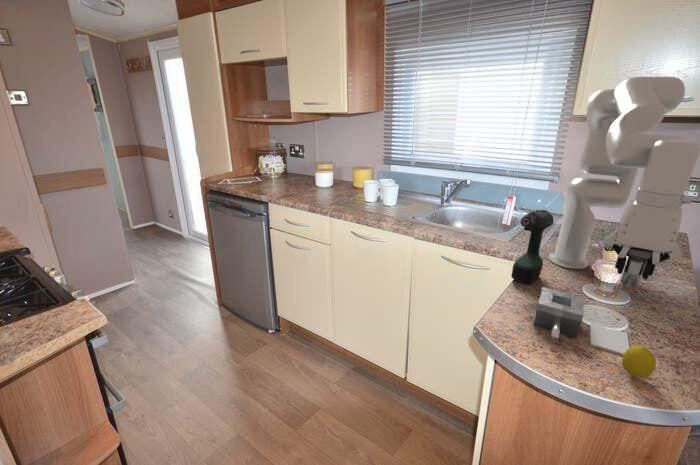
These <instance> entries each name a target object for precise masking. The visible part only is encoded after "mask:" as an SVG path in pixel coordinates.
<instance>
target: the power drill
mask: <svg viewBox="0 0 700 465" xmlns="http://www.w3.org/2000/svg"><path fill="white" fill-rule="evenodd" d="M554 220H555V219H554V217H553V215H552V213H551V212H549V211H548V210H547V209H537V210H532V211H530V212H527V213H525V215H524V216H522V217H521V218H520V225H521V226H522V227H523V230H524V231H527V232H530V234H529V240H528V245H527V251H526V253H524V254H521V256H519V257H518V258H517V259H515V262H514V263H513V265H512V270H511V278H512V279H513V280H514V281H515V280H516V281H517V282H521V283H523V284H526V285H530V286H531V285H533V283H534V282H536V280H537V279H538V278H539V277H540V276H541V272H542V270H543V265H544V262H543V261H544V260H543V259H542V257H541V256H540V250H541V244H542V238H543V234H544V231H545V230H546V229H548V228H550V227H551V226H552V225H554Z"/></svg>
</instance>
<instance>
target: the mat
mask: <svg viewBox="0 0 700 465" xmlns="http://www.w3.org/2000/svg"><path fill="white" fill-rule="evenodd" d="M605 327H606V326H603V327H602V325H600V324H596V323H592V322H591V323H590V324H589V336H590V338H589V344H590V347H591V346H592V347H595V348H597V349H600V350H603V351H604V350H605V351H608V352H610V353H614V354H616V355H620V356H623V355H624V353H625V352H626V351H627V349H629V348H630V347H631V346H630V341H629V337H628V335H629V334H628V333H627V332H624V331H622V330H621V331H620V330H616V329H614V330H612V329H613V328H611V329H607V328H608V327H607V328H605Z"/></svg>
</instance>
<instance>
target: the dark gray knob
mask: <svg viewBox="0 0 700 465" xmlns="http://www.w3.org/2000/svg"><path fill="white" fill-rule="evenodd" d="M652 255H653V251H650V250H645V249H639V248H634V247H631V248H630V249H629V251H628V252H627V254H626V257H628V258H627V260H626V263H625V266H624V269H623V272H622V274H621V275H622V276H621V279H620V283H621V284H623V285H625V286H627V287H634V288H635V287H636V288H637V287H638V285H639V282H640V278H641V276H642V271H643V268H644V266H645V263H646V261H650V260H651V259H652Z"/></svg>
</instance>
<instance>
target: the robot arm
mask: <svg viewBox="0 0 700 465" xmlns="http://www.w3.org/2000/svg"><path fill="white" fill-rule="evenodd" d="M685 93H686V86H685V83H684V82H683V80H681V79H680V78H678V77H676V76H634V77H630V78H627V79H625V80H623V81H622V82H620V84H618V85H617V87H616V88H611V89H609V88H608V89H601V90H598V91H596V92H594V93H593V94H591V96H590V97H589V99H588V102H587V106H586V124H587V131H586V136H585V140H584V143H583V148H582V152H581V156H580V159H579V169H580V171H581V172H582V173H584V174H589V175H595V176H596V175H597V176H598V175H600V176H607V177H608V176H611V177H612V176H613V177H614V179H610V178H608V179H607V178H599V177H598V178H597V177H586V176H585V177H576V178H574V179H573V180H571V181H570V182H569V184H568V186H567V192H566V193H567V194H566V203H565V209H564V214H563V219H562V221H561V226H560V231H559V234H558V238H557V243H556V247H555V250H554V252H550V253H549V255H548V259H549V260H550V262H552V263H553V264H555V265H557V266H560V267H562V268H565V269H566V268H567V269H571V270H584V269H587V268H588V266H589V262H588V260H587V259H586V254H587V251H588V248H589V246H590V245H589V244H590V241H591V237H592V234H593V231H594V227H595V223H596V216H595V214H594V213H593V211H592V210H591V207H594V208H595V207H597V208H604V209H605V208H608V209H620V208H623V207H624V206H625V205H626V204H627V205H626V206H625V209H624V211H623V213H622V215H621V217H620V220H619V222H618V225H617V228H616V229H615V230H614V231H613V232H611V233H610V234H608V235H607V236H605V237H604V243H605V244H607V245H608V246H609V247H611V248H612V250H613V251H614V252H615V253H616V255H618V256H617V259H616V261H615V266H614V269H617V274H619V275H623V272H624V269H625V266H626V263H627V260H628V258H627V256H626V254H627V252H628V251H629V249H630V248H631V247H634V248H639V249H645V250H650V251H653V255H652V259H651V260H650V261H646V262H645V265H644V268H643V271H642V273H641V276H642V279H643V280H648V278H649V277H652V276H653V273H654V271H655V268H656V266H657V265H659V264H660V263H662V262H664V261H667V260H669V259H674V258H677V257H680V256H683V252H682V250H681V247H680V246H679V244H678V242H677V240H678V239H677V238H678V235H679V232H680V228H681V224H682V218H683V217H682V216H683V207H682V206H683V205H686V204H688V205H690V204H691V203H692V199H693V198H692V197H689V196H686V195H685V193H686V190H687V188H688V185H689V182H690V180H691V178H692V174H693V172H694V169H695V167H696V164H697V161H698V158H699V155H700V143H699V142H696V141H693V140H688V139H687V138H686V137H683V136H679V135H663V134H648V133H646V134H645V132H647V131H651V130H653V129H654V128H655V127H657V126H658V125H659V124H660V123H661V122H662V121H663V119H664V118H665V114H669V113H670V112H672V111H673V110H675V109H677V108H678V107H679V106H680V104H681V103H682V102H683V99H684V97H685ZM639 169H644V170H643V173H642V177H641V180H640V183H639V186H638V189H637V192H636V195H635V198H634V199H631V200H629V198H630V195H631V192H632V189H633V185H634V181H635V179H636V176H637V173H638V170H639ZM628 200H629V202H628ZM627 202H628V203H627ZM615 240H616V241H615Z"/></svg>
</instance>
